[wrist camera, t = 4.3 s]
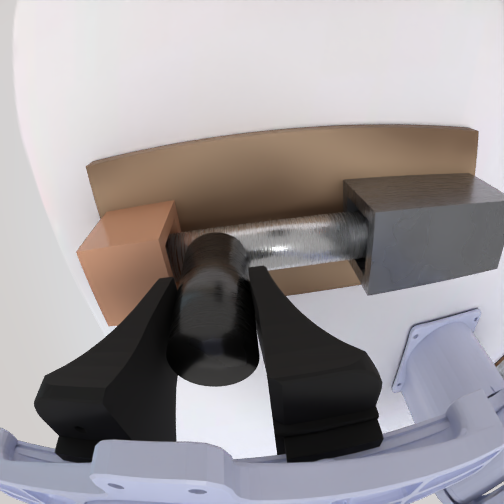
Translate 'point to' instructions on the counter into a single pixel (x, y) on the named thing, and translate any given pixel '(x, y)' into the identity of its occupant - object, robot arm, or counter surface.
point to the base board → (278, 178)
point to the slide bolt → (242, 286)
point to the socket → (128, 256)
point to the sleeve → (425, 228)
